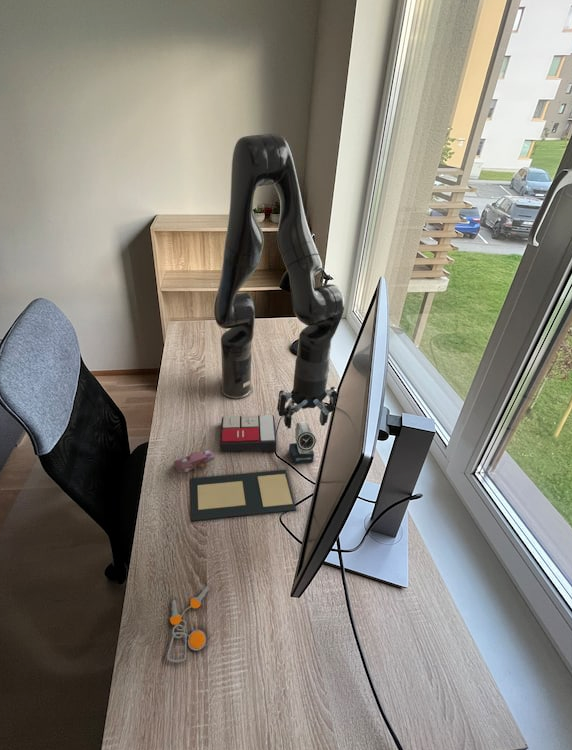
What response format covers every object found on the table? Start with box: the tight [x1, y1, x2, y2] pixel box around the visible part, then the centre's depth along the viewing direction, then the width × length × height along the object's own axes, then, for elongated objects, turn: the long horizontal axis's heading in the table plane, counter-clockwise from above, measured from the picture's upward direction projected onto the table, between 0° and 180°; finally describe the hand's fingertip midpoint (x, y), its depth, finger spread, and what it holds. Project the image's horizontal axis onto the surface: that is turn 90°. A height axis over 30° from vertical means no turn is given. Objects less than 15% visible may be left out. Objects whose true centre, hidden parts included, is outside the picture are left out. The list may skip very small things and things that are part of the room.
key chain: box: [166, 586, 210, 664], centre depth 73 cm, size 13×7×1 cm, turn 179°
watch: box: [288, 421, 318, 465], centre depth 103 cm, size 6×8×11 cm
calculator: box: [219, 414, 277, 452], centre depth 111 cm, size 11×4×15 cm
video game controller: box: [173, 449, 215, 473], centre depth 102 cm, size 10×5×7 cm, turn 118°
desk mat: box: [190, 469, 297, 522], centre depth 96 cm, size 12×24×1 cm, turn 97°
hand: (305, 424), depth 100 cm, fingers open, 8 cm apart
